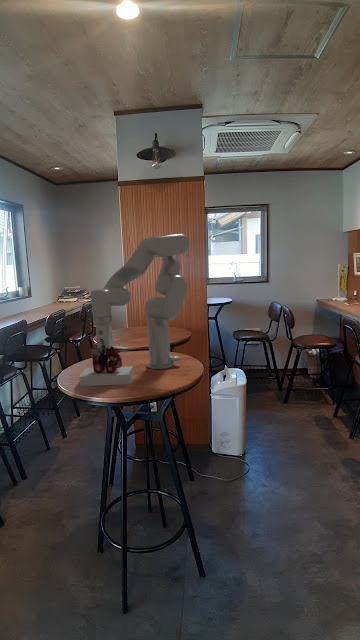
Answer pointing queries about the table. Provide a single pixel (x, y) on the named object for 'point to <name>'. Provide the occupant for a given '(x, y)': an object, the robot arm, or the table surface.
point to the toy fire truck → (112, 362)
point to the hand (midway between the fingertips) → (106, 360)
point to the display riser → (106, 377)
